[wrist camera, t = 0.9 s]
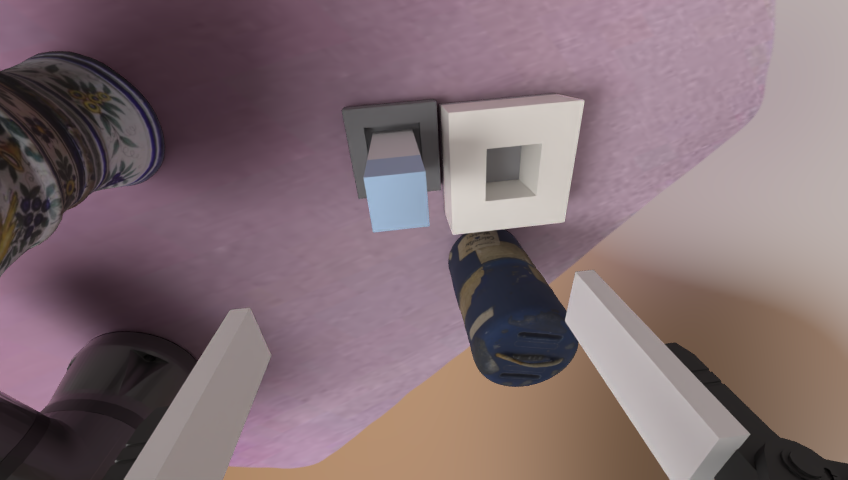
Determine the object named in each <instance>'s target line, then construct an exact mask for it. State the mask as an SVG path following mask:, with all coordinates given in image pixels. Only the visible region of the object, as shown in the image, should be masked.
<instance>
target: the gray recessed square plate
mask: <svg viewBox="0 0 848 480" xmlns="http://www.w3.org/2000/svg"><path fill="white" fill-rule="evenodd" d="M342 115H343V120H344V125H345V130H346V135H347V141H348V146H349V151H350V156H351V161H352V167H353V172H354V177H355V182H356V187H357V193H358V198H359V199H362V198H367V195H366V189H365V184H364V178H363V177H364V173H365V168H366V163H367V158H368V154H369V149H370V144H371V139H372V134H373V132H384V131H394V130H404V129H412V130H413V133H414V137H415V140H416V143H417V146H418V149H419V152H420V155H421V159H422V162H423V165H424V168H425V171H426V183H427V192H428V191H437V190H441V182H440V162H439V143H438V123H437V104H436V101H435V100H434V99H430V100H419V101H408V102H397V103H387V104H376V105H365V106H355V107H344V108H343V109H342Z"/></svg>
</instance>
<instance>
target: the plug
mask: <svg viewBox="0 0 848 480" xmlns="http://www.w3.org/2000/svg"><path fill="white" fill-rule="evenodd" d="M363 178H364V184H365V189H366V195H367V201H368V206H369V212H370V218H371V223H372V229H373V232H382V231H391V230H400V229H409V228H418V227H427V226H430V224H429V210H428V197H427V183H426V171H425V168H424V165H423V162H422V159H421V155H420V152H419V149H418V146H417V143H416V140H415V137H414V133H413V130H412V129H404V130H394V131H384V132H373V134H372V139H371V144H370V149H369V154H368V158H367V163H366V168H365V173H364V177H363Z"/></svg>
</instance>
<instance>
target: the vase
mask: <svg viewBox="0 0 848 480" xmlns="http://www.w3.org/2000/svg"><path fill="white" fill-rule="evenodd" d="M164 151H165V146H164V137H163V133H162V129H161V126H160V123H159V121H158V118H157V116H156V114H155V112H154V111H153V109H152V107H151V106H150V104H149V103H148V101H147V100H146V99H145V98H144V97H143V95H142V94H141V93H140V92H139V91H138V90H137V89H136V88H135V87H134V86H133V85H132V84H131V83H129V82H128V81H127V80H126V79H124V78H123V77H122V76H120V75H119V74H118V73H116V72H115V71H113V70H112V69H110V68H109V67H108V66H106V65H104V64H103V63H101V62H99V61H97V60H94V59H92V58H89V57H86V56H83V55H80V54H76V53H72V52H63V51H61V52H46V53H40V54H37V55H35V56H33V57H31V58H29V59H27V60H25V61H24V62H22V63H20V64H18V65H16V66H13V67H11V68H8V69H5V70H2V71H0V276H1V275H2V274H3V273H4V272H5V270H6V269H7V268H8V267H9V266H10V265H11V264H12V263H14V262H15V261H16V260H17V259H18V258H19V257H20V256H21V255H22V254H23V253H25V252H26V251H27V250H28V249H31V248H33V247H35V246H37V245H39V244H41V243H42V242H44V241H45V240H46V239H48V238H49V237H50V236H51V235H52V234H53V232H54V231H55V230H56V229H57V227H58V225H59V223H60V222H61V220H62V216H63V213H64V212H65V211H66V210H69V209H71V208H73V207H75V206H77V205H78V204H80V203H81V202H82V201H84V200H85V199H86V198H87V196H88V195H89V194H91V193H92V192H94V191H98V190H102V189H108V188H115V187H121V186H131V185H136V184H139V183H142V182H144V181H146V180H147V179H149V178H150V177H152V176H153V175H154V174H155V173H156V172H157V171H158V169H159V168H160V166H161V164H162V162H163V159H164Z"/></svg>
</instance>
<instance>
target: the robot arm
mask: <svg viewBox="0 0 848 480" xmlns="http://www.w3.org/2000/svg"><path fill="white" fill-rule="evenodd" d="M565 322H566V323H567V325H568V327H569V328H570V330H571V331H572V333H573V334H574V336H575V337H576V339H577V340H578V342H579V343H580V345H581V346H582V348H583V349H584V351H585V352H586V354H587V355H588V357H589V358H590V360H591V361H592V363H593V364H594V366H595V367H596V369H597V370H598V372H599V373H600V375H601V376H602V378H603V379H604V381H605V382H606V384H607V385H608V387H609V388H610V390H611V391H612V393H613V394H614V396H615V397H616V399H617V400H618V402H619V403H620V405H621V406H622V408H623V409H624V411H625V412H626V414H627V416H628V417H629V419H630V420H631V421H632V423H633V424H634V426H635V428H636V429H637V431H638V432H639V434H640V435H641V437H642V438H643V439H644V441H645V443H646V444H647V446H648V447H649V449H650V450H651V452H652V453H653V455H654V456H655V458H656V459H657V461H658V462H659V464H660V465H661V467H662V468H663V469H664V471H665V473H666V474H667V476H668V477H669V479H670V480H714V479H715V480H848V464H847V463H841V462H836V461H830V460H826V459H824V458H822V457H821V456H819V455H818V454H817V453H815V452H814V451H812V450H811V449H809V448H807V447H805V446H803V445H801V444H799V443H797V442H795V441H791V440H787V439H784V438H780V437H779V436H778V435H777V434H775V433H774V432H773V431H772V430H771V429H770V428H769V427H768V426H767V425H766V424H765V423H764V422H762V420H761V419H760V418H759V417H758V416H756V414H754V413H753V412H752V411H751V410H750V409H749V408H748V407H747V406H746V405H745V404H744V403H743V402H742V401H741V400H740V399H739V398H738V397H737V396H736V395H735V394H734V393H733V392H732V391H731V390H730V389H729V388H728V387H727V386H726V385H725V384H722V383H721V380H720V379H719V378H718V377H717V376H716V375H714V374H713V372H710V371H709V369H708V368H707V367H706V366H705V365H704V364H703V363H702V362H701V361H700V360H699V359H698V358H697V357H696V356H695V355H694V354H693V353H691V352H690V351H688V350H686V349H685V348H683V347H682V346H680V345H678V344H677V343H668V344H664V343H663V342H662V341H661V340H660V339H659V338H658V337H657V336H656V335H655V334H654V333H653V332H652V331H651V330H650V328H649V327H647V326H646V324H645V323H644V322H643V321H642V320H641V319H640V318H639V317H638V316H637V315H636V314H635V313H634V312H633V311H632V310H631V309H630V308H629V307H628V305H627V304H626V303H625V302H624V301H623V300H622V299H621V298H620V297H619V296H618V295H617V294H616V293H615V292H614V291H613V290H612V289H611V288H610V287H609V286H608V285H607V283H606V282H605V281H604V280H602V278H601V277H600V276H599V275H598V274H597V273H596V272H595V271H594V270H588V271H579V272H575V277H574V281H573V286H572V290H571V295H570V299H569V304H568V309H567V313H566V318H565ZM270 358H271V353H270V351H269V349H268V347H267V344H266V342H265V340H264V338H263V335H262V333H261V331H260V329H259V326H258V324H257V322H256V320H255V318H254V315H253V313H252V311H251V309H250V308H242V309H233V310H230V311H229V312H228V314H227V315H226V317H225V319H224V320H223V322H222V323H221V325H220V327H219V328H218V330H217V331H216V333H215V335H214V336H213V338H212V339H211V341H210V343H209V344H208V346H207V347H206V349H205V351H204V352H203V354H202V355H201V357H200V359H199V360H198V362H196V361H195V359H194V358H193V357H192V356H191V355H190V354H189V353H187V352H186V351H185V350H184V349H182V348H181V347H179V346H177V345H175V344H174V343H171V342H169V341H167V340H165V339H162V338H159V337H156V336H152V335H148V334H143V333H135V332H115V333H109V334H105V335H101V336H99V337H96V338H94V339H93V340H91V341H90V342H89V343H87V344H86V345H85V346H84V347H83V348H82V349H81V350H80V351H79V352H78V353H77V354H76V355H75V356H74V357H73V359H72V360H71V362H70V364H69V366H68V368H67V372H66V374H65V376H64V377H63V379H62V381H61V383H60V384H59V386H58V388H57V390H56V392H55V393H54V395H53V397H52V399H51V401H50V402H49V404H48V405H47V406H46V407H45V408H44V409H43V410H42V411H41V412H38V411H36V410H34V409H33V408H31V407H29V406H27V405H25V404H23V403H21V402H19V401H17V400H16V399H14V398H12V397H10V396H8V395H6V394H5V393H3V392H1V391H0V480H223V478H224V475H225V473H226V470H227V467H228V465H229V462H230V460H231V457H232V455H233V452H234V450H235V447H236V445H237V442H238V440H239V437H240V434H241V432H242V429H243V427H244V424H245V422H246V419H247V417H248V414H249V412H250V409H251V406H252V404H253V401H254V399H255V396H256V394H257V391H258V389H259V386H260V384H261V381H262V378H263V376H264V373H265V371H266V368H267V366H268V363H269V361H270Z"/></svg>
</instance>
